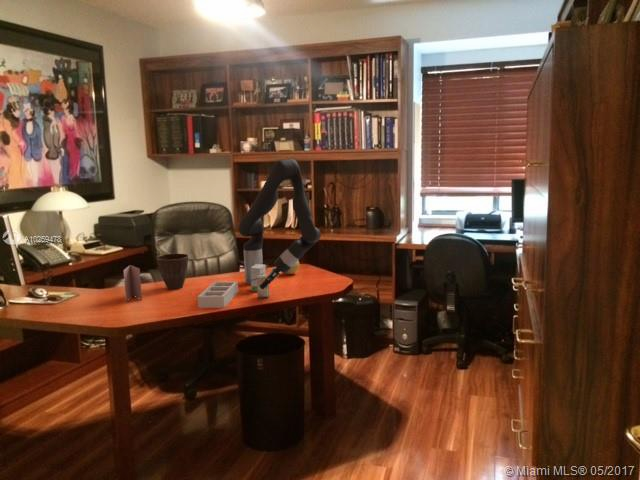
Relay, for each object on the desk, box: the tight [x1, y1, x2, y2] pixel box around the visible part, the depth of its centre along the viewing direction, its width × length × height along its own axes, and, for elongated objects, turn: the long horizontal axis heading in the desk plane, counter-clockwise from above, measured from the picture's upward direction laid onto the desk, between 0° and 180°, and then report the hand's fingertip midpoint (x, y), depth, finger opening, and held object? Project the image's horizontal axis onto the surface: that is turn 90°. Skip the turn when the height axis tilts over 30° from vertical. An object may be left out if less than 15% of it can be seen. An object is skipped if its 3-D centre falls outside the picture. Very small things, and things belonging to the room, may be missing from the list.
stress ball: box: [286, 260, 300, 275], centre depth 289 cm, size 10×10×10 cm
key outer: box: [205, 294, 223, 296], centre depth 236 cm, size 6×8×1 cm
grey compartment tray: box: [197, 281, 239, 309], centre depth 244 cm, size 26×11×5 cm, turn 175°
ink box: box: [250, 264, 267, 293], centre depth 259 cm, size 9×5×12 cm, turn 168°
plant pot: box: [156, 253, 189, 291], centre depth 266 cm, size 15×15×16 cm
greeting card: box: [122, 264, 143, 302], centre depth 248 cm, size 11×7×15 cm, turn 5°
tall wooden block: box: [257, 274, 270, 300], centre depth 245 cm, size 4×4×10 cm
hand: (262, 285), depth 245 cm, fingers open, 8 cm apart
